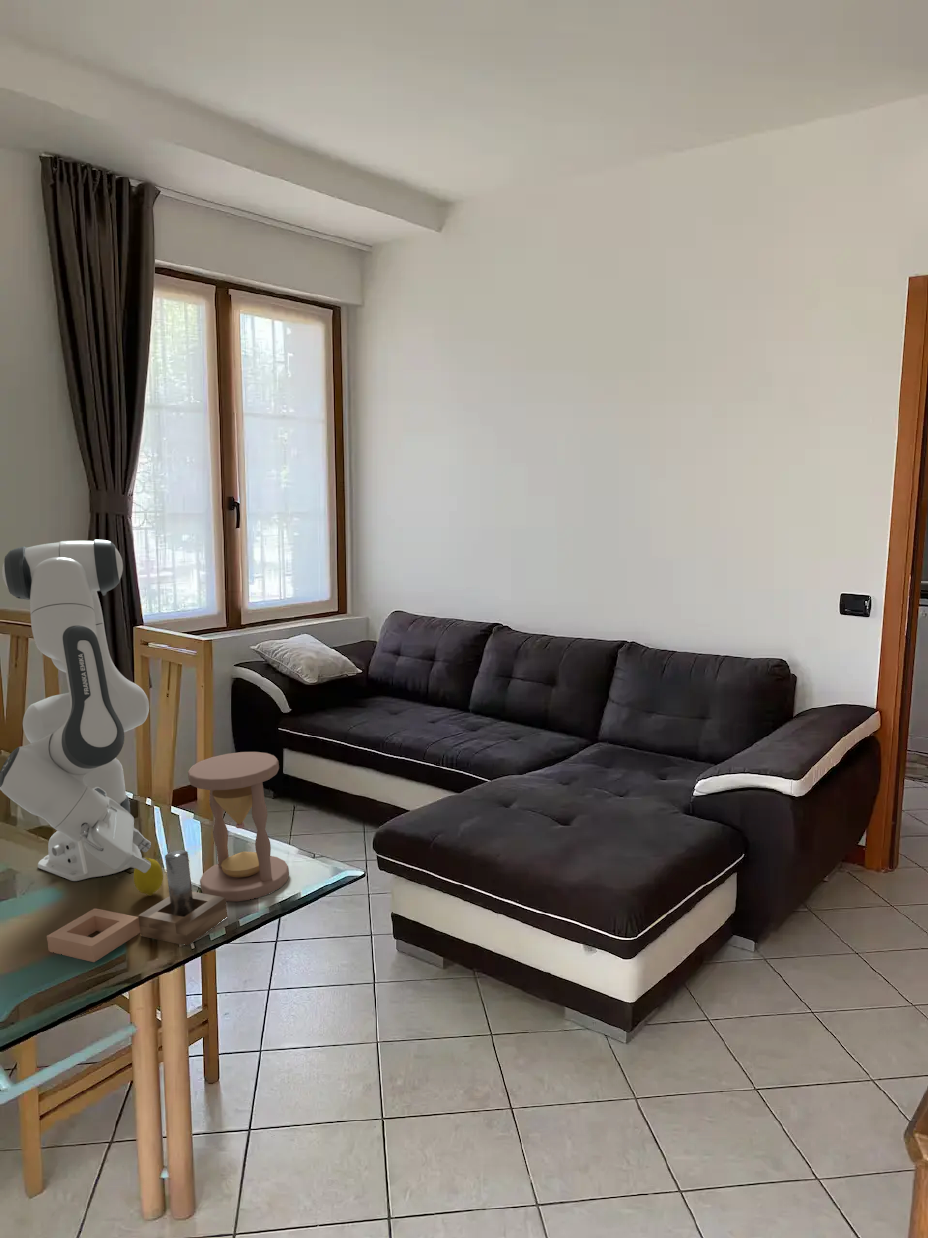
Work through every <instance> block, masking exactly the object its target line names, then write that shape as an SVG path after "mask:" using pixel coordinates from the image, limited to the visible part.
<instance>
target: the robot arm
mask: <svg viewBox="0 0 928 1238" xmlns="http://www.w3.org/2000/svg"><path fill="white" fill-rule="evenodd" d="M1 570H2V572H1V573H2V579H3V582H4V584H5V586H6V588H7V590H8V592H9V594H10V595H12V596H13V597H15V598H16V599H20V600H27V601H29V608H30V610H29V611H30V612H29V613H30V625H31V632H32V636H33V640H34V644H35V646H36V649H37V650H38V651H39V652H40V653H41V654H43V655H44V656H46V657H48V658H50V659H51V661H52V663H53V665H54V666H55V668H56V669H57V670H59V671H61V672H63V673H65V677H66V682H67V689H68V692H65V693H61V694H56V695H50V696H49V697H45V698H43V699H41V700H38V701H37V702H34V703H32V704H31V703H30V705H28V707H27V708H26V710H25V713H24V715H23V719H22V730H23V732H24V736H25V737H26V739H27V740H28V742H29V743H28V744H26V745H23V746H18V747H16V748H15V749H13V750H12V752H11V753H10V754H9V755H8V756H7V757H8V758H7V759H5V760H4V761H5V762H4V763H3V765H2V767H1V769H0V791H1V792H2V793H3V794H4V795H5V796H6V797H8V798H9V800H11V801H13V802H14V803H15V804H16V805H18V806H19V807H21V808H22V809H23V810H25V811H26V812H28V813H30V814H31V815H33V816H37V817H39V818H42V819H43V820H45V821H46V822H47V823H48V824H49V826H50V827H51V828H53V829H55V831H56V832H54V833H53V834H52V835H51V837H50V838H49V840H48V845H47V846H48V847H47V848H48V850H47V851H48V854H47V855H45V856H44V857H43V858H41V859H40V860H39V861H38V863H37V867H38V869H41V870H43V871H46V872H48V873H50V874H53V875H55V876H58V877H62V878H65V879H67V880H69V881H71V882H78V881H82V880H86V879H91V878H96V877H98V878H99V877H102V876H103V877H105V876H109V875H112V874H113V875H114V874H117V873H119V872H122V871H125V870H127V869H130V868H133V869H135V868H136V869H138V870H140V871H142V872H143V873H146V872H147V871H148V870H149V869H150V867H151V863H150V861H148V860H147V859H145V858H146V857H142V853H141V852H143V853H147V852H148V851H149V850H150V849H151V847H152V845H151V844H152V842H151V841H150V840H148V839H147V838H145V837H144V835H143V834H142V833H141V832H140V831H139V829H137V828H135V825H134V823H135V818H134V816H133V815H132V814H131V807H130V805H131V803H130V800H129V796H128V795H127V792H126V785H125V783H126V782H125V776H124V769H123V768H124V767H123V765H122V763H121V762H120V760H119V759H118V758H117V757H118V756H119V754H120V752H121V751H122V749H123V747H124V743H125V733H126V732H128V731H131V730H133V729H135V728H137V727H139V726H141V725H143V724H144V723H145V722H146V720H147V718H148V716H149V712H150V711H149V710H150V701H149V698H148V695H147V694H146V692H145V691H144V689H143V688H142V687H141V686H139V684H137V683H135V682H133V681H131V680H130V679H127V678H126V677H125V676H124V675H123V674H122V673H121V671H119V669H118V668H117V667H116V666H115V664H114V661H113V659H112V657H111V654H110V650H109V646H108V641H107V636H106V629H105V622H104V615H103V610H102V606H101V602H100V598H99V594H98V592H101V594H102V596H106V595H107V592H109V591H112V590H114V589H115V588H116V587H117V585H118V584H120V582H121V578H122V575H123V571H124V564H123V558H122V556H121V554H120V552H119V550H118V549H117V547H116V545H115V544H114V542H112V541H111V540H106V539H94V540H79V539H78V540H60V541H58V542H51V543H43V544H42V543H41V544H37V545H32V546H29V547H26V545H25V546H20V547H16V548H14V549H11V550H9V551H8V553H7V554H5V557H4V560H3V564H2V569H1Z"/></svg>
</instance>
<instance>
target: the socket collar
mask: <svg viewBox="0 0 928 1238" xmlns="http://www.w3.org/2000/svg"><path fill="white" fill-rule="evenodd" d="M95 932H99V933H98V934H96V935H95V936H93V937H90V935H92V934H93V933H95ZM139 934H140V926H139V918H138V916H135V915H130V914H126V913H121V912H115V911H111V910H105V909H99V908H95V907H94V908H92V909H91V910H89V911H87V912H86V913H84V914H82V915H81V916H78V917H77V918H75V919H73V920H72V921H70V922H68V923H66V924H65V925H63V926H62V927H60V928H58V929H57V930H55V931H53V932H51V933H50V934H47V935H46V940H47V941H46V942H47V946H48V952H49V951H52V952H51V953H53V952H54V953H53V954H57V955H61V954H62V955H63V956H66V957H70V958H74V959H78V960H83V961H87V962H91V963H95V962H97V961H98V960H100V959H102V958H103V957H106V955H108V954H110V953H111V952H113V951H114V950H115V949H117V948H118V947H120V946H123V944H125V943H126V942H128V941H130V940H131V939H133V938H135V937H136V936H137V935H139Z"/></svg>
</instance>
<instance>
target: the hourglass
mask: <svg viewBox="0 0 928 1238" xmlns="http://www.w3.org/2000/svg"><path fill="white" fill-rule="evenodd" d="M279 764H280V762H279V760H278V758H277V757H276V756H275V755H274V754H271V753H268V752H260V751H240V752H232V753H231V752H230V753H224V754H220V755H219V754H218V755H216V756H215V755H214V756H212V757H208V758H205V759H202V760H200V761H198V762H196V763H195V764H193V765H192V766H191V767H190V768H189V770H188V771H187V776H188V777H187V778H188V782H189V783H190V785H191V786H192V787H193V788H194V787H195V788H197V789H199V790H200V789H201V790H206V791H209V800H208V801H209V807H210V810H211V812H212V814H213V817H214V823H213V829H212V835H213V840H214V845H215V850H216V855H217V856H216V858H217V863H216V864H214V865H211V867H209V868H208V869H207V870H206V871H204V872H203V874H202V875H201V877H200V879H199V885H200V886H199V887H200V889H201V893H203V894H209V895H214V896H220V897H225V898H226V903H227V902H235V903H238V902H243V901H244V902H245V901H249V900H250V899H251V900H254V898H256V899H259V898H262V897H265V896H268V895H270V894H272V893H274V892H276V891H278V890H279V888H280V889H281V888H283V886H284V885H285V884H286V883H287V882H288V879H289V876H290V869H289V866H288V864H287V863H286V862H287V861H285V860H284V859H281V858H279V857H278V856H274V855H273V856H272V855H271V851H272V847H271V845H272V844H271V841H270V838H269V835H268V833H267V831H266V830H267V829H266V825H267V823H268V822H267V821H268V808H267V805H266V801H265V793H264V785H263V784H264V783H263V782H267V781H268V780H270V779H272V778H273V777H275V776H276V775H277V774H278V772H279V769H280V765H279ZM250 810H251V817H252V820H253V823H254V825H255V828H256V830H257V832H256V836H255V843H254V846H255V847H254V849H255V851H241V852H238V853H236V854H232V855H230V856H229V848H228V846H229V845H228V841H229V830H228V828H227V825H226V823H225V820H224V818H223V817H224V812H226V814H227V815H229V817H230V818H231V819H232V820H233V822H235V828H237V829H243V828H245V822H244V820H245V819H246V818H247V816H248V814H249V813H250ZM277 889H278V890H277ZM275 890H276V891H275ZM273 891H274V892H273ZM271 892H272V893H271ZM269 893H270V894H269ZM267 894H268V895H267ZM258 897H259V898H258Z"/></svg>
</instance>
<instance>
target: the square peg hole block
mask: <svg viewBox="0 0 928 1238" xmlns="http://www.w3.org/2000/svg"><path fill="white" fill-rule="evenodd" d="M192 895H193V904H194V911H192V912H191V913H189V914H188V915H186V916H185V917H182V916H177V915H172V913H171V904H170V895H169V896H167V897H166V898H164V899H163V900H161V901H159V902H158V903H156V904H154V905H152V906H151V907H150V908H147V909H146V910H144V911H143V912H141V913H139V915H137V917H138V918H139V926H140V933H139V934H140V937H145V938H150V939H154V940H157V941H163V942H168V943H172V944H177V945H181V944H185V945H184V946H186V945H188V946H190V945H191V944H193V943H194V942H195V941H197V940H198V939H200V938H201V937H202V936H204V935H205V934H206V932H207V931H208V932H210V931H211V930H212V929H214V928H215V927H217V926H218V925H219V924H220V923H219V922H221V921H222V920H223V919H225V918H226V917H228V918H229V916H228V915H229V914H228V905H227V902H226V898H225V897H220V896H214V895H209V894H203V892H197V891H192ZM225 920H226V919H225ZM222 922H223V921H222ZM222 922H221V923H222ZM218 923H219V924H218ZM217 924H218V925H217ZM216 925H217V926H216ZM214 926H215V927H214ZM213 927H214V928H213ZM211 928H212V929H211ZM210 929H211V930H210ZM209 930H210V931H209ZM208 932H207V933H208ZM189 944H190V945H189Z"/></svg>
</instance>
